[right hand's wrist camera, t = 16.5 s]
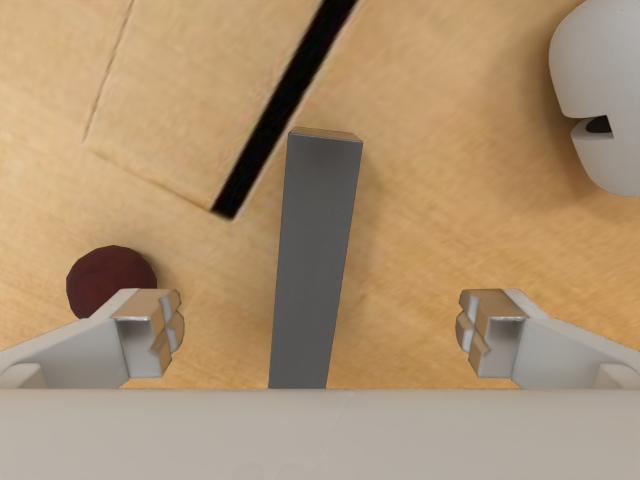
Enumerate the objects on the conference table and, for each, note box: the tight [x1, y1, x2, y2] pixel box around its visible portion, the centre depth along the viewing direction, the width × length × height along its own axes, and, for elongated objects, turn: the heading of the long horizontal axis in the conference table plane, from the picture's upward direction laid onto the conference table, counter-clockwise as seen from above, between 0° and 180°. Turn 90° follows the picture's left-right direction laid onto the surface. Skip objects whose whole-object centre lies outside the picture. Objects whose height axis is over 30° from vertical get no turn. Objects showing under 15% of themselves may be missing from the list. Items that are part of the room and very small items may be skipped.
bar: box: [268, 127, 363, 389], centre depth 33 cm, size 24×5×8 cm, turn 174°
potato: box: [66, 245, 157, 319], centre depth 34 cm, size 7×8×7 cm
